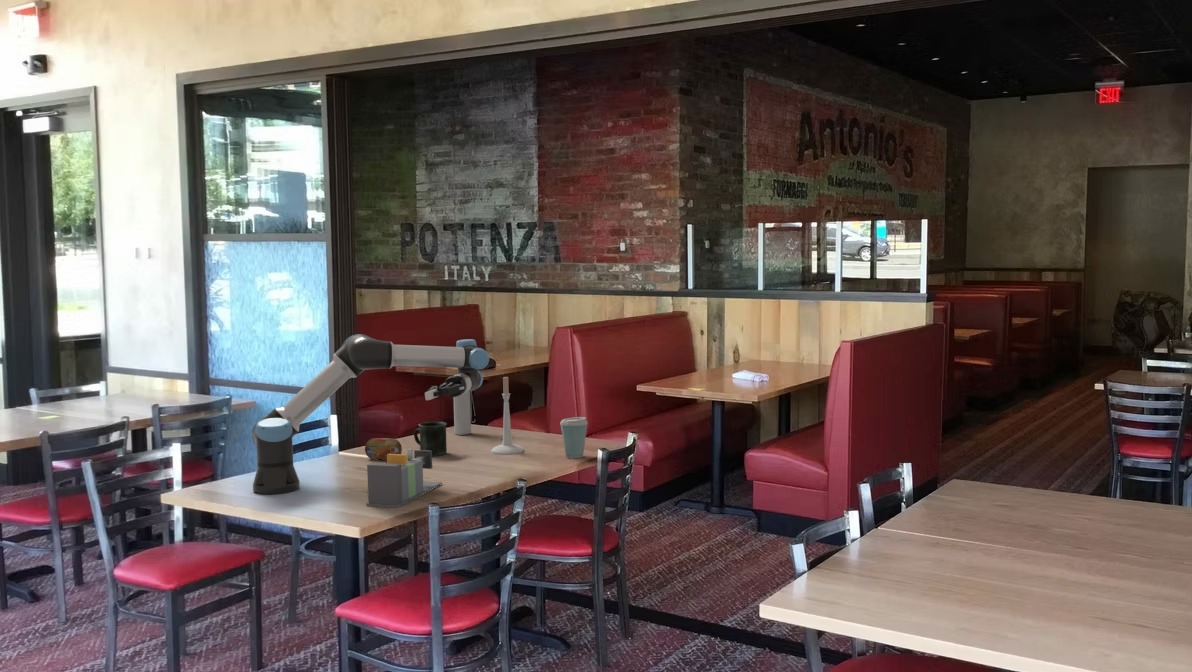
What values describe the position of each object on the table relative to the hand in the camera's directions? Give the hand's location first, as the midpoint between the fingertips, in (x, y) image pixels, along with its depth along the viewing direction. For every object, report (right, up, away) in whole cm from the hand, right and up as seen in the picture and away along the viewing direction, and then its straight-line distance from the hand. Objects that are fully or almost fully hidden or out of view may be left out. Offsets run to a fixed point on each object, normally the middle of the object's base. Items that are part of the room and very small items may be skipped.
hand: (427, 396), depth 352 cm
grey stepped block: (-4, -31, -17) cm, 36 cm away
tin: (-23, -27, +41) cm, 54 cm away
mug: (-7, -26, +51) cm, 57 cm away
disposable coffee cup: (+50, -26, +40) cm, 69 cm away
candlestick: (+23, -25, +53) cm, 63 cm away
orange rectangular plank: (-6, -20, -23) cm, 31 cm away
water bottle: (+1, -22, +93) cm, 95 cm away
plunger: (-3, -25, -12) cm, 28 cm away
